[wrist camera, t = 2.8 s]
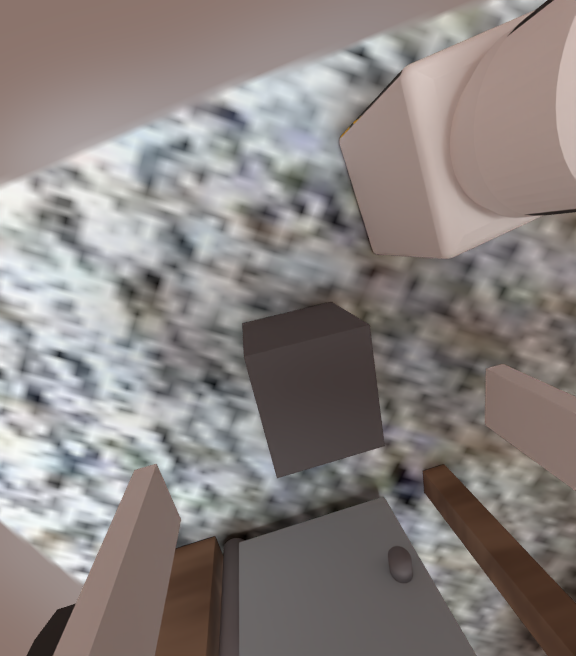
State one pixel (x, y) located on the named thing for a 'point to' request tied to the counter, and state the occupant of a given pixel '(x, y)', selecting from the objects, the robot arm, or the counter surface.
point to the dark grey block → (314, 386)
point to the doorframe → (465, 520)
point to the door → (334, 592)
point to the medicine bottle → (470, 139)
